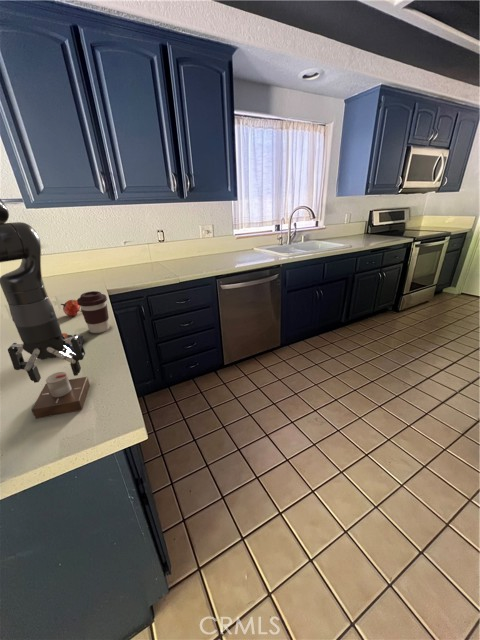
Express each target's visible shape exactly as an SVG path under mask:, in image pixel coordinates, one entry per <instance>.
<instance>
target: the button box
mask: <svg viewBox="0 0 480 640" xmlns="http://www.w3.org/2000/svg"><path fill="white" fill-rule="evenodd" d="M67 336H68V338H69V337H73V336H74V335H73V334H67ZM78 336H79V338H80V341H81V343H82V345H83V344H84V342H85V339H84V336H83V335H78ZM65 346H66V347H68V348H69V349H70V350H71V351H72V352H73V353H75V351H74V348H73V346H70V345H69V344H68V343H66V344H65ZM61 352H63V351H61ZM63 353H64V352H63ZM75 354H76V353H75Z"/></svg>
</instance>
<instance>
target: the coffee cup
mask: <svg viewBox="0 0 480 640" xmlns="http://www.w3.org/2000/svg"><path fill="white" fill-rule="evenodd" d="M76 300H77V303H78V305H80V311H82V312H81V313H82V316H83V319H84V322H85V324H86V326H87V328H88V331H89V332H90V333H92V334H100V333H101V334H102V333H104V332H106V331H108V330H110V321H109V318H110V316H109V311H108V305H107V300H108V297H107V295H106V294H104V293H102V292H101V291H98V290H97V291H96V290H92V291H87V292H83V293H82V294H80V297H78V298H77V299H76Z"/></svg>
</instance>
